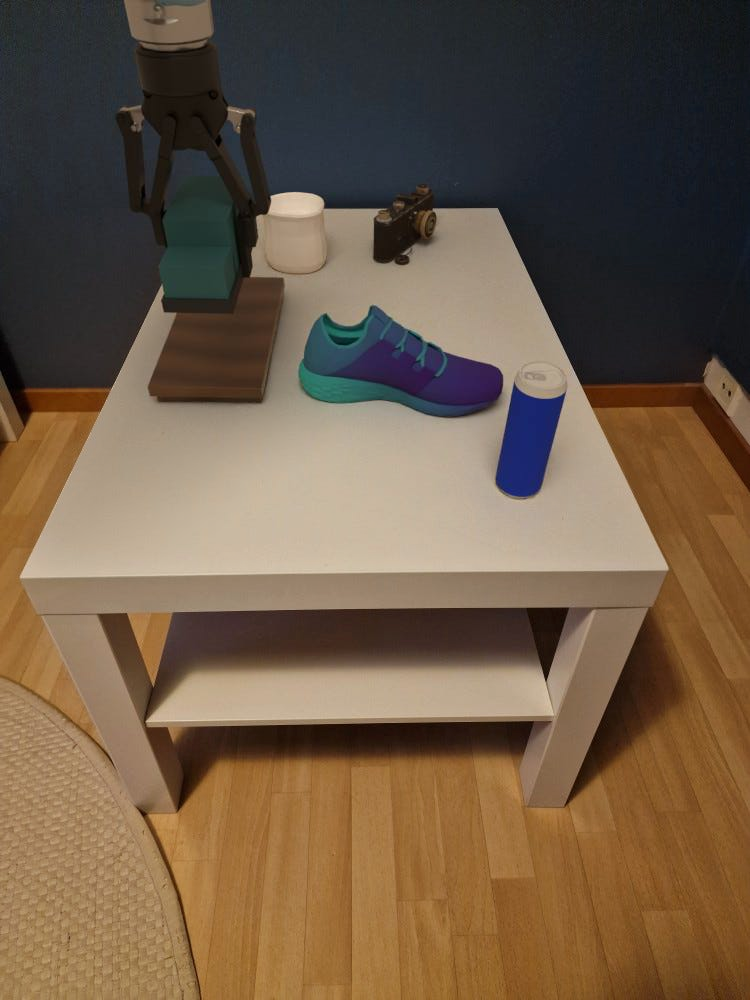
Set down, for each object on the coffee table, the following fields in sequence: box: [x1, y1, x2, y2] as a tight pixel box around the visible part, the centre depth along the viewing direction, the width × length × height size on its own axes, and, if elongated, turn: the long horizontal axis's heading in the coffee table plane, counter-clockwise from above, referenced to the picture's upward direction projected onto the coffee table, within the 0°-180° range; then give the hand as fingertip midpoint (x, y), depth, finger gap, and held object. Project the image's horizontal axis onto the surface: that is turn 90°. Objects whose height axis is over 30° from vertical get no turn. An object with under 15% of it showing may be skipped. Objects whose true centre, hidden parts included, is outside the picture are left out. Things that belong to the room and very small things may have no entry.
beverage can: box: [494, 360, 568, 499], centre depth 72 cm, size 5×5×15 cm
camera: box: [372, 183, 438, 266], centre depth 116 cm, size 16×7×8 cm, turn 148°
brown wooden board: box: [147, 276, 286, 404], centre depth 95 cm, size 28×14×3 cm, turn 0°
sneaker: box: [297, 304, 504, 418], centre depth 85 cm, size 10×26×12 cm, turn 81°
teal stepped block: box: [157, 174, 254, 314], centre depth 77 cm, size 18×8×8 cm, turn 179°
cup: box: [262, 191, 328, 275], centre depth 110 cm, size 10×10×10 cm
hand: (212, 271), depth 80 cm, fingers closed on teal stepped block, 7 cm apart
